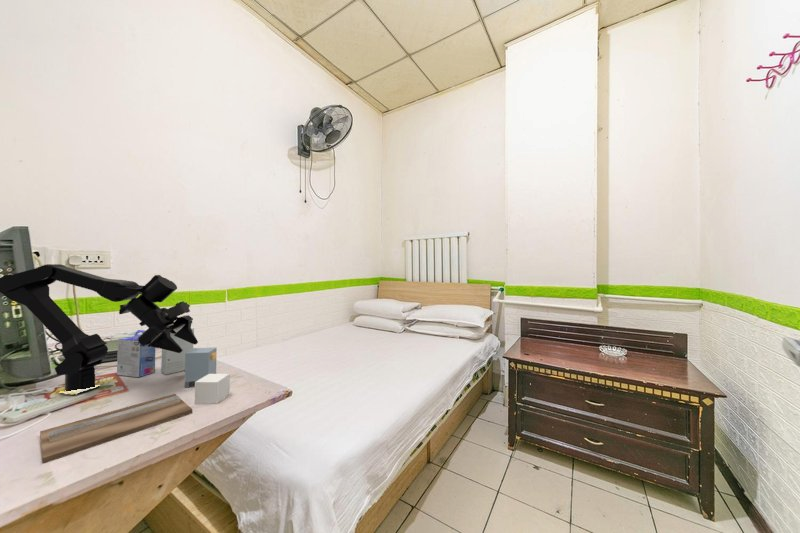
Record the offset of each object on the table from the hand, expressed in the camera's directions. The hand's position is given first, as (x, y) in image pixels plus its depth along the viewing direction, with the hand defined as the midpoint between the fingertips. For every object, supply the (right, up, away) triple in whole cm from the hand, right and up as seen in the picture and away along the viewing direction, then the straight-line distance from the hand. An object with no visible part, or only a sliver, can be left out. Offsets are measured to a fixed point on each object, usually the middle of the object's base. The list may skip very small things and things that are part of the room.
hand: (189, 347), depth 91 cm
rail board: (0, -12, -23) cm, 25 cm away
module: (+3, -12, +1) cm, 12 cm away
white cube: (+13, -12, -9) cm, 20 cm away
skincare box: (-13, -11, +12) cm, 21 cm away
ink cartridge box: (-24, -11, +8) cm, 28 cm away
